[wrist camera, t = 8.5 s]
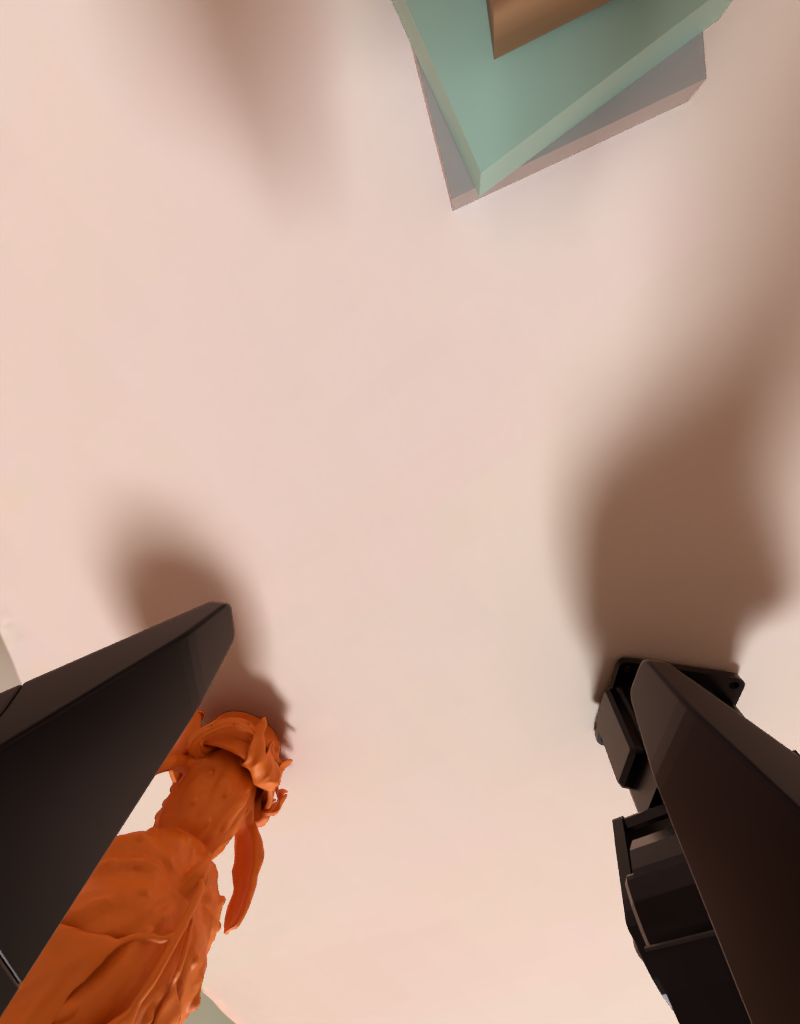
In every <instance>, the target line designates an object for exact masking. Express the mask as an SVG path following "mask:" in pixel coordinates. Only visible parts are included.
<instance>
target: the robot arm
mask: <svg viewBox="0 0 800 1024" xmlns="http://www.w3.org/2000/svg"><path fill="white" fill-rule="evenodd" d="M233 639H234V624H233V616H232V609H231V606H230V605H229V604H228V603H224V602H217V601H211V602H208V603H206V604H203V605H201V606H199V607H197V608H194V609H192V610H190V611H187V612H185V613H183V614H181V615H178V616H176V617H174V618H171V619H169V620H167V621H164V622H162V623H160V624H158V625H155V626H153V627H151V628H148V629H146V630H144V631H142V632H139V633H137V634H135V635H132V636H130V637H128V638H126V639H123V640H121V641H119V642H116V643H114V644H112V645H110V646H107V647H105V648H103V649H100V650H98V651H96V652H94V653H91V654H89V655H87V656H84V657H82V658H80V659H78V660H75V661H73V662H71V663H68V664H66V665H64V666H61V667H59V668H57V669H55V670H52V671H50V672H48V673H45V674H43V675H41V676H39V677H36V678H34V679H32V680H29V681H27V682H25V683H24V684H23V686H22V685H18V686H16V687H13V688H11V689H9V690H6V691H4V692H2V693H0V1017H1V1016H2V1014H3V1013H4V1011H5V1010H6V1008H7V1006H8V1005H9V1003H10V1002H11V1000H12V999H13V997H14V996H15V994H16V992H17V991H18V989H19V987H20V984H19V983H22V982H23V981H24V979H25V978H26V976H27V975H28V973H29V971H30V970H31V968H32V967H33V965H34V964H35V962H36V960H37V959H38V957H39V956H40V954H41V953H42V951H43V950H44V948H45V946H46V945H47V943H48V942H49V940H50V939H51V937H52V936H53V934H54V932H55V931H56V929H57V928H58V926H59V925H60V923H61V921H62V920H63V918H64V917H65V915H66V914H67V912H68V911H69V909H70V907H71V906H72V904H73V903H74V901H75V900H76V898H77V897H78V895H79V893H80V892H81V890H82V889H83V887H84V886H85V884H86V882H87V881H88V879H89V878H90V876H91V875H92V873H93V872H94V870H95V868H96V867H97V865H98V864H99V862H100V861H101V859H102V858H103V856H104V854H105V853H106V851H107V850H108V848H109V847H110V845H111V843H112V842H113V840H114V839H115V837H116V836H117V834H118V833H119V831H120V829H121V828H122V826H123V825H124V823H125V822H126V820H127V818H128V817H129V815H130V814H131V812H132V811H133V809H134V808H135V806H136V804H137V803H138V801H139V800H140V798H141V797H142V795H143V794H144V792H145V790H146V789H147V787H148V786H149V784H150V783H151V781H152V779H153V778H154V776H155V775H156V773H157V772H158V770H159V769H160V767H161V765H162V764H163V762H164V761H165V759H166V758H167V756H168V755H169V753H170V751H171V750H172V748H173V747H174V745H175V744H176V742H177V740H178V739H179V737H180V736H181V734H182V733H183V731H184V730H185V728H186V726H187V725H188V723H189V722H190V720H191V719H192V717H193V716H194V714H195V712H196V711H197V709H198V707H199V706H200V704H201V702H202V700H203V699H204V697H205V695H206V693H207V691H208V689H209V687H210V685H211V683H212V681H213V679H214V678H215V676H216V674H217V672H218V670H219V668H220V666H221V664H222V662H223V660H224V658H225V656H226V654H227V652H228V650H229V648H230V646H231V644H232V642H233ZM625 666H629V667H628V668H624V667H625ZM731 682H733V683H731ZM744 686H745V683H744V681H743V680H742V679H741V678H740V677H739V676H738V675H737V674H735V673H730V672H723V671H716V670H709V669H703V668H696V667H689V666H682V665H675V664H669V663H667V662H665V661H658V660H651V659H645V660H641V659H634V658H621V659H619V660H618V661H617V663H616V665H615V668H614V672H613V675H612V678H611V682H610V685H609V688H607V689H606V690H605V691H604V694H603V697H602V701H601V704H600V707H599V711H598V714H597V717H596V724H597V727H596V730H595V737H596V740H597V742H598V743H599V744H601V745H604V746H605V749H606V752H607V754H608V757H609V760H610V763H611V765H612V768H613V771H614V774H615V776H616V779H617V782H618V783H619V784H620V786H621V787H623V788H627V789H629V790H630V793H631V796H632V798H633V801H634V803H635V806H636V809H637V811H638V813H636V814H633V815H631V816H628V817H625V818H624V817H623V816H621V817H619V818H616V819H613V820H612V822H613V830H614V837H615V847H616V854H617V861H618V869H619V876H620V883H621V891H622V898H623V905H624V912H625V920H626V924H627V927H628V930H629V932H630V934H631V936H632V938H633V943H634V947H635V949H636V952H637V954H638V955H639V957H640V958H641V960H642V961H643V962H644V964H645V966H646V968H647V969H648V971H649V973H650V975H651V977H652V979H653V981H654V983H655V984H656V986H657V988H658V990H659V991H660V993H661V995H662V996H663V997H664V999H665V1000H666V1002H667V1003H668V1005H669V1006H670V1007H671V1009H672V1010H673V1011H674V1013H675V1015H676V1017H677V1019H678V1022H679V1024H800V754H799V753H798V752H797V751H796V750H794V751H791V750H790V749H788V748H787V747H785V746H784V745H783V744H781V743H780V742H778V741H777V740H776V739H774V738H773V737H771V736H770V735H769V734H767V733H766V732H764V731H763V730H762V729H760V728H759V727H757V726H756V725H755V724H753V723H752V722H750V721H749V720H748V719H746V718H745V717H744V716H743V714H742V713H741V712H740V711H739V709H738V708H737V707H736V704H737V702H738V699H739V697H740V695H741V693H742V691H743V689H744Z"/></svg>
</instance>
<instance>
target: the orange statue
mask: <svg viewBox="0 0 800 1024" xmlns="http://www.w3.org/2000/svg"><path fill="white" fill-rule="evenodd" d="M203 717H204V711H200V710H197V711H196V712H195V714H194V716H193V717H192V719H191V720H190V722H189V723H188V725H187V726H186V728H185V730H184V731H183V733H182V734H181V736H180V737H179V739H178V740H177V742H176V744H175V745H174V747H173V748H172V750H171V751H170V753H169V755H168V756H167V758H166V759H165V761H164V762H163V764H162V765H161V767H160V769H159V770H158V772H157V773H156V775H157V774H159V773H162V772H166V771H169V774H170V777H171V779H172V781H173V785H172V786H171V788H170V794H169V796H168V797H167V798H166V799H165V800H164V801H163V803H162V806H163V807H162V808H161V809H160V810H159V811H158V812H157V814H156V815H155V823H154V826H153V827H152V828H150V829H148V830H147V831H138V832H132V833H129V834H125V835H119V836H116V837H115V839H114V840H113V842H112V843H111V845H110V847H109V848H108V850H107V851H106V853H105V854H104V856H103V858H102V859H101V861H100V862H99V864H98V865H97V867H96V868H95V870H94V872H93V873H92V875H91V876H90V878H89V879H88V881H87V882H86V884H85V886H84V887H83V889H82V890H81V892H80V893H79V895H78V897H77V898H76V900H75V901H74V903H73V904H72V906H71V907H70V909H69V911H68V912H67V914H66V915H65V917H64V918H63V920H62V921H61V923H60V925H59V926H58V928H57V929H56V931H55V932H54V934H53V936H52V937H51V939H50V940H49V942H48V943H47V945H46V946H45V948H44V950H43V951H42V953H41V954H40V956H39V957H38V959H37V960H36V962H35V964H34V965H33V967H32V968H31V970H30V971H29V973H28V975H27V976H26V978H25V979H24V981H23V982H22V983H19V984H20V987H19V989H18V991H17V992H16V994H15V996H14V997H13V999H12V1000H11V1002H10V1003H9V1005H8V1006H7V1008H6V1010H5V1011H4V1013H3V1014H2V1016H1V1017H0V1024H182V1023H183V1022H184V1021H185V1020H186V1019H187V1017H188V1015H189V1013H190V1012H194V1011H196V1010H197V1009H198V1007H199V1005H200V999H201V998H200V992H201V986H202V982H203V978H204V974H205V970H206V967H207V954H208V952H209V950H210V947H211V944H212V942H213V941H214V940H215V936H216V933H217V932H218V931H219V930H220V928H221V923H220V921H219V920H220V914H221V910H222V907H223V905H224V903H225V901H226V899H225V897H224V896H220V895H219V891H218V884H217V879H218V871H217V869H216V865H215V864H214V863H213V862H212V861H211V860H213V859H214V858H215V857H217V856H218V855H219V854H220V853H221V852H223V850H224V848H225V846H226V845H227V844H228V843H229V841H230V840H231V839H232V837H233V836H234V835H235V845H234V850H235V860H234V865H233V869H232V877H233V886H234V891H233V895H232V897H231V900H230V902H229V905H228V907H227V911H226V916H225V921H224V934H228V933H229V931H230V930H233V929H237V928H238V927H239V925H240V924H241V922H242V920H243V919H244V917H245V915H246V913H247V911H248V908H249V906H250V903H251V900H252V897H253V894H254V891H255V888H256V884H257V877H258V873H259V871H260V869H261V866H262V863H263V859H264V849H263V842H262V838H261V836H260V833H259V831H258V828H257V827H262V826H264V825H265V824H266V823H267V822H268V820H269V818H270V816H274V815H276V814H277V813H278V812H279V810H280V809H281V807H282V804H283V802H284V801H285V799H286V797H287V794H285V795H284V793H286V792H288V791H287V790H285V789H280V790H279V789H278V786H279V785H280V782H281V776H282V773H283V771H284V769H285V768H286V767H287V766H288V765H289V764H290V763H291V762H292V761H293V760H292V759H287V760H285V761H283V762H282V761H281V759H280V758H279V753H280V743H279V739H278V737H277V735H276V734H275V732H274V731H273V729H272V728H271V727H270V726H269V725H268V724H267V720H266V717H265V716H264V717H263V718H262V719H260V718H258V717H256V716H254V715H251V714H248V713H245V712H238V711H231V712H226V713H223V714H221V715H219V716H218V717H217V718H216V719H215V720H214V721H212V722H211V723H209V724H207V725H205V726H203V727H201V720H202V719H203ZM275 791H276V795H277V798H278V800H277V802H275V803H274V801H276V799H273V797H274V793H275ZM283 795H284V796H283ZM272 803H273V804H272Z"/></svg>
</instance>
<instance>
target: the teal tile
mask: <svg viewBox="0 0 800 1024" xmlns="http://www.w3.org/2000/svg"><path fill="white" fill-rule="evenodd" d="M731 1H732V0H612V1H610V2H608V3H606V4H604V5H602V6H600V7H598V8H596V9H594V10H592V11H590V12H588V13H586V14H584V15H582V16H580V17H578V18H576V19H574V20H572V21H570V22H568V23H566V24H564V25H562V26H560V27H558V28H556V29H554V30H552V31H550V32H548V33H546V34H544V35H542V36H540V37H538V38H536V39H534V40H532V41H530V42H528V43H527V44H525V45H523V46H521V47H519V48H517V49H515V50H513V51H511V52H509V53H507V54H505V55H503V56H501V57H499V58H497V59H495V60H494V56H493V48H492V41H491V33H490V26H489V18H488V11H487V4H486V0H392V2H393V5H394V7H395V9H396V11H397V14H398V16H399V18H400V20H401V23H402V25H403V27H404V29H405V32H406V34H407V36H408V38H409V41H410V43H411V45H412V47H413V50H414V52H415V54H416V56H417V58H418V61H419V63H420V65H421V67H422V70H423V72H424V74H425V76H426V79H427V81H428V83H429V85H430V88H431V90H432V92H433V94H434V97H435V99H436V101H437V103H438V106H439V108H440V110H441V112H442V115H443V117H444V119H445V121H446V123H447V126H448V128H449V130H450V132H451V135H452V137H453V139H454V141H455V144H456V146H457V148H458V150H459V153H460V155H461V157H462V159H463V162H464V164H465V166H466V168H467V171H468V173H469V175H470V177H471V180H472V182H473V184H474V186H475V188H476V191H477V193H478V195H479V197H480V196H481V195H482V194H484V193H485V192H486V191H488V190H489V189H490V188H492V187H493V186H494V185H496V184H497V183H499V182H500V181H501V180H503V179H504V178H505V177H507V176H508V175H509V174H511V173H512V172H513V171H515V170H516V169H517V168H519V167H520V166H521V165H523V164H524V163H526V162H527V161H528V160H530V159H531V158H532V157H534V156H535V155H536V154H538V153H539V152H540V151H542V150H543V149H544V148H546V147H547V146H548V145H550V144H551V143H553V142H554V141H555V140H557V139H558V138H559V137H561V136H562V135H563V134H565V133H566V132H567V131H569V130H570V129H571V128H573V127H574V126H575V125H577V124H578V123H580V122H581V121H582V120H584V119H585V118H586V117H588V116H589V115H590V114H592V113H593V112H594V111H596V110H597V109H598V108H600V107H601V106H602V105H604V104H605V103H606V102H608V101H609V100H611V99H612V98H613V97H615V96H616V95H617V94H619V93H620V92H621V91H623V90H624V89H625V88H627V87H628V86H629V85H631V84H632V83H633V82H635V81H636V80H638V79H639V78H640V77H642V76H643V75H644V74H646V73H647V72H648V71H650V70H651V69H652V68H654V67H655V66H656V65H658V64H659V63H660V62H662V61H663V60H665V59H666V58H667V57H669V56H670V55H671V54H673V53H674V52H675V51H677V50H678V49H679V48H681V47H682V46H683V45H685V44H686V43H687V42H689V41H690V40H691V39H693V38H694V37H696V36H697V35H698V34H700V33H701V32H702V31H704V30H705V29H706V28H708V27H709V26H710V25H712V24H713V23H714V22H716V21H717V20H718V19H719V18H720V16H721V15H722V14H723V12H724V11H725V10H726V8H727V7H728V5H729V4H730V3H731Z"/></svg>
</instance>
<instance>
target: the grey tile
mask: <svg viewBox="0 0 800 1024" xmlns="http://www.w3.org/2000/svg"><path fill="white" fill-rule="evenodd" d="M411 47H412V45H411ZM412 51H413V55H414V59H415V63H416V67H417V71H418V75H419V79H420V83H421V87H422V91H423V95H424V99H425V103H426V107H427V111H428V115H429V119H430V123H431V127H432V131H433V135H434V139H435V143H436V147H437V151H438V155H439V159H440V163H441V167H442V171H443V174H444V178H445V182H446V186H447V190H448V194H449V198H450V202H451V206H452V210H453V211H454V210H456V209H458V208H460V207H462V206H464V205H466V204H469V203H471V202H473V201H475V200H477V199H479V198H481V197H484V196H486V195H488V194H490V193H492V192H494V191H496V190H499V189H501V188H503V187H505V186H507V185H509V184H511V183H514V182H516V181H518V180H520V179H522V178H524V177H526V176H529V175H531V174H533V173H535V172H537V171H539V170H541V169H544V168H546V167H548V166H550V165H552V164H554V163H556V162H559V161H561V160H563V159H565V158H567V157H569V156H571V155H574V154H576V153H578V152H580V151H582V150H584V149H586V148H589V147H591V146H593V145H595V144H597V143H599V142H601V141H604V140H606V139H608V138H610V137H612V136H614V135H616V134H619V133H621V132H623V131H625V130H627V129H629V128H631V127H634V126H636V125H638V124H640V123H642V122H644V121H646V120H649V119H651V118H653V117H655V116H657V115H659V114H661V113H664V112H666V111H668V110H670V109H672V108H674V107H676V106H679V105H681V104H683V103H685V102H687V101H688V100H689V99H690V98H691V96H692V95H693V94H694V93H695V92H696V90H697V89H698V88H699V87H700V86H701V84H702V83H703V82H704V81H705V79H706V67H705V54H704V42H703V31H702V32H701V33H700V34H698V35H697V36H696V37H694V38H693V39H691V40H690V41H689V42H687V43H686V44H685V45H683V46H682V47H681V48H679V49H678V50H677V51H675V52H674V53H673V54H671V55H670V56H669V57H667V58H666V59H665V60H663V61H662V62H660V63H659V64H658V65H656V66H655V67H654V68H652V69H651V70H650V71H648V72H647V73H646V74H644V75H643V76H642V77H640V78H639V79H638V80H636V81H635V82H633V83H632V84H631V85H629V86H628V87H627V88H625V89H624V90H623V91H621V92H620V93H619V94H617V95H616V96H615V97H613V98H612V99H611V100H609V101H608V102H606V103H605V104H604V105H602V106H601V107H600V108H598V109H597V110H596V111H594V112H593V113H592V114H590V115H589V116H588V117H586V118H585V119H584V120H582V121H581V122H580V123H578V124H577V125H575V126H574V127H573V128H571V129H570V130H569V131H567V132H566V133H565V134H563V135H562V136H561V137H559V138H558V139H557V140H555V141H554V142H553V143H551V144H550V145H548V146H547V147H546V148H544V149H543V150H542V151H540V152H539V153H538V154H536V155H535V156H534V157H532V158H531V159H530V160H528V161H527V162H526V163H524V164H523V165H521V166H520V167H519V168H517V169H516V170H515V171H513V172H512V173H511V174H509V175H508V176H507V177H505V178H504V179H503V180H501V181H500V182H499V183H497V184H496V185H494V186H493V187H492V188H490V189H489V190H488V191H486V192H485V193H484V194H482V195H481V196H480V197H479V195H478V193H477V191H476V188H475V186H474V184H473V182H472V180H471V177H470V175H469V173H468V171H467V168H466V166H465V164H464V162H463V159H462V157H461V155H460V153H459V150H458V148H457V146H456V144H455V141H454V139H453V137H452V135H451V132H450V130H449V128H448V126H447V123H446V121H445V119H444V117H443V115H442V112H441V110H440V108H439V106H438V103H437V101H436V99H435V97H434V94H433V92H432V90H431V88H430V85H429V83H428V81H427V79H426V76H425V74H424V72H423V70H422V67H421V65H420V63H419V61H418V58H417V56H416V54H415V52H414V50H413V47H412Z"/></svg>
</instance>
